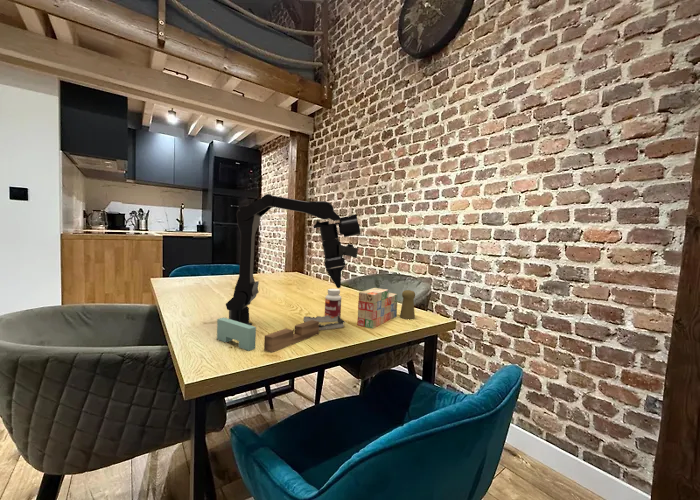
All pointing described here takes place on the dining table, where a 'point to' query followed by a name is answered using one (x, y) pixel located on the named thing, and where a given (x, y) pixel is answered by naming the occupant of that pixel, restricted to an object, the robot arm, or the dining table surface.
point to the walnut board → (290, 336)
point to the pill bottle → (333, 303)
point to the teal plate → (236, 333)
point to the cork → (408, 305)
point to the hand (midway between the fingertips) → (338, 285)
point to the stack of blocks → (376, 307)
